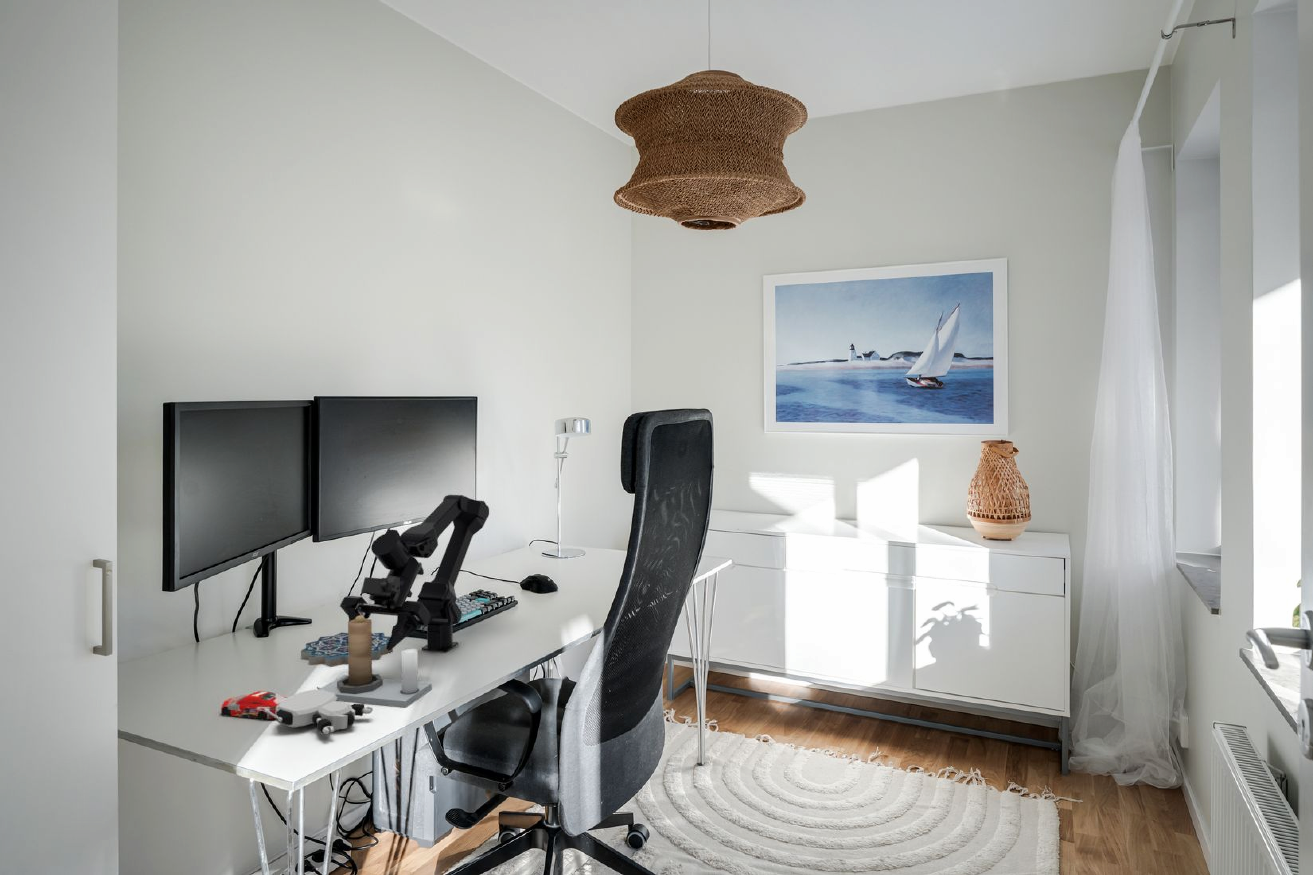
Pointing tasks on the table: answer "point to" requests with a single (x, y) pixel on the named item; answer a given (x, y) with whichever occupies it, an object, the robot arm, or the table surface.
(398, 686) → the plate
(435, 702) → the table surface
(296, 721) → the robot toy
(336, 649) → the decorative tile
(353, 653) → the brown tall cylinder
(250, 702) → the race car
